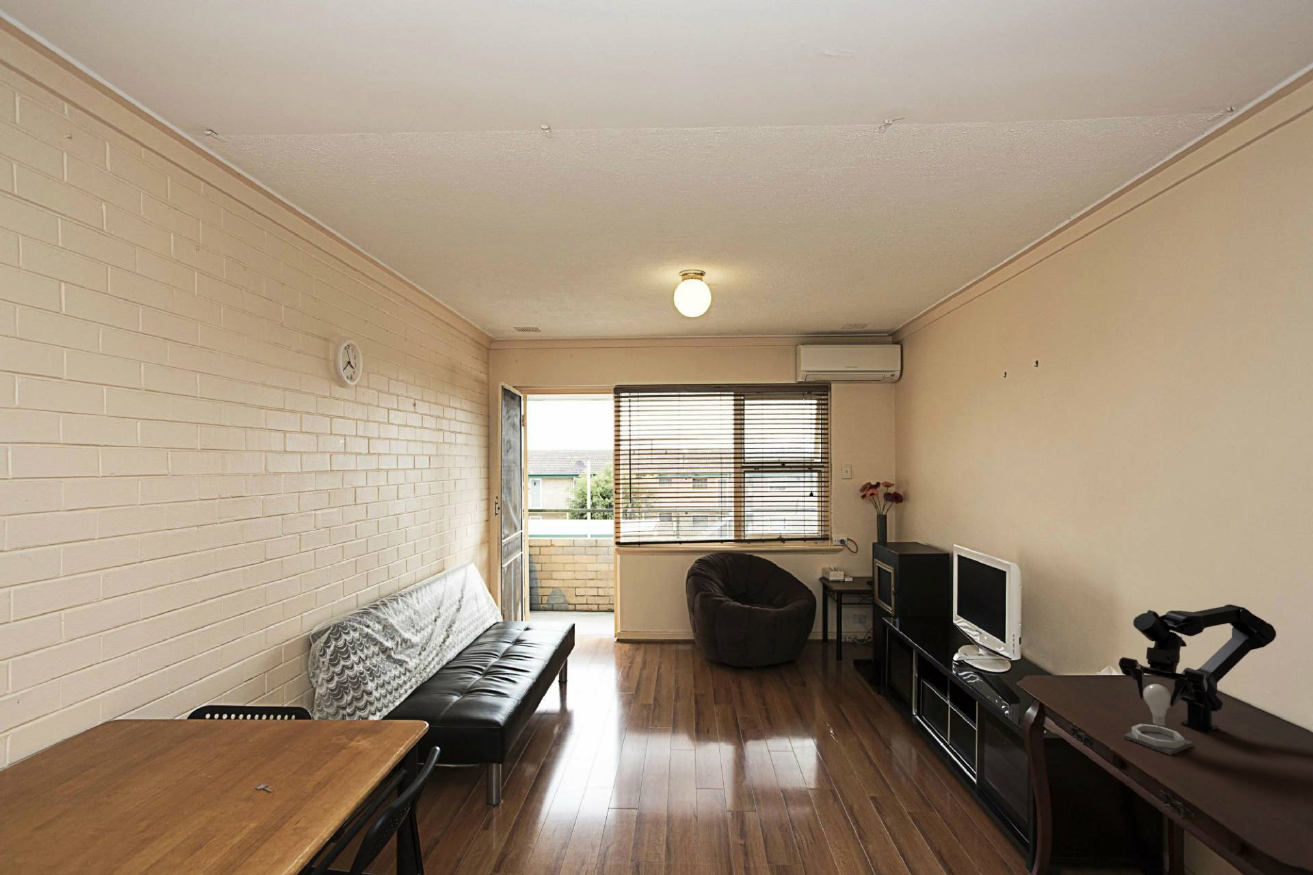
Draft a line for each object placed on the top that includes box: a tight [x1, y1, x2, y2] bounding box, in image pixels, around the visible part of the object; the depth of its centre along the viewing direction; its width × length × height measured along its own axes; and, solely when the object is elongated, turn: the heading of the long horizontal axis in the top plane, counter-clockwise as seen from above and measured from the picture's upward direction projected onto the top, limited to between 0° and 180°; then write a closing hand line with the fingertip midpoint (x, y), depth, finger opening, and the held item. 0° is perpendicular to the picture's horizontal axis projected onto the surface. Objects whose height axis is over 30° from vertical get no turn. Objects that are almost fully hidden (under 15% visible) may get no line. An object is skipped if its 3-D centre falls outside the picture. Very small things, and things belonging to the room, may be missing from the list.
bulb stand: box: [1123, 723, 1193, 756], centre depth 177 cm, size 11×11×2 cm
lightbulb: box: [1143, 683, 1173, 727], centre depth 177 cm, size 6×6×11 cm
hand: (1156, 702), depth 176 cm, fingers closed on lightbulb, 6 cm apart
